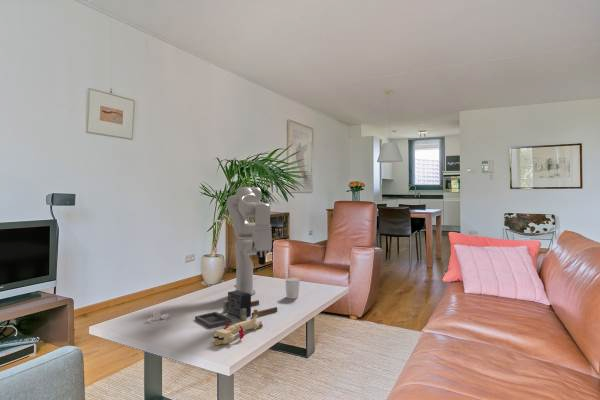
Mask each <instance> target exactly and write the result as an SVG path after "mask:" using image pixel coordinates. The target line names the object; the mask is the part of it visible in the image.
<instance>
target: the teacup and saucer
mask: <svg viewBox="0 0 600 400" xmlns="http://www.w3.org/2000/svg"><path fill="white" fill-rule="evenodd" d="M161 313H162V311H161V310H155V311H153V312H151V315H150V318H148V319H147V322H148V323H153V324H155V323H156V324H158V323H162V322H165V321H166V320H167V319H168V318H169V317H170V315H169V313H165V314H162V315H161ZM152 315H153V317H152ZM151 320H153V321H151Z"/></svg>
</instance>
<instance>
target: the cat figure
mask: <svg viewBox="0 0 600 400" xmlns="http://www.w3.org/2000/svg"><path fill="white" fill-rule="evenodd" d="M258 311H259V310H258V309H256V308H255V309H253V312H252V313H255V315H254V317H253V318H252V319H249V320H245V321H240V322H237V323H234V324H233V325H231V326H230V324H232V323H231V322H230V323H228V324H225V326H224V328H221V329H218V330H216V331H215V332H214V335H212V338H213V339H214V340H213V341H212V343H214V345H216V346H219V345H222V344H223V345H225V344H230V343H232V342H234V341H235V339H236V335H237V334H239V340H243V338H244V337H245V332H244V331H245V330H247V331H248V330H252V329H258V328H259V329H260V328H263V327H264V324H263V321H262V320H259V321H258V322H257V321H256V319H257V318H258V314H259V313H258Z"/></svg>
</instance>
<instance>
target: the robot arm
mask: <svg viewBox="0 0 600 400" xmlns="http://www.w3.org/2000/svg"><path fill="white" fill-rule="evenodd" d="M235 193H236V194H233V195H230V196H228V197H227V199H226V208H227V211H228V213H229V216H230V218H231V221H232V225H233V230H234V231H233V232H234V236H235V238H237V240H236V242H235V243H234V250H235V263H236V265H235V266H236V271H235V272H236V273H235V274H236V278H235V283H236V284H234V288H235V289H234V291H237V290H239V291H242V292H246V293H249V294H251V296H253V295H255V294H256V290H255V289H254V283H253V282H254V263H253V262H254V261H253V260H252V259H251V258H250V256H253V255H254V256H255V255H257V257H258V259H257V260H258V261H257V262H258V264H259V265H261V266H263V265H265V264H266V258H267V255H268V254H269V253H271V252H272V248H273V237H272V231H271V229H272V225H271V206H270V204H269V203H266V202H260V201H261V200H262V196H263V194H262V190H261V189H260V187H257V186H241V187H239V188H238V189H237V190H236V192H235ZM247 218H254V222H248V219H247Z"/></svg>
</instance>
